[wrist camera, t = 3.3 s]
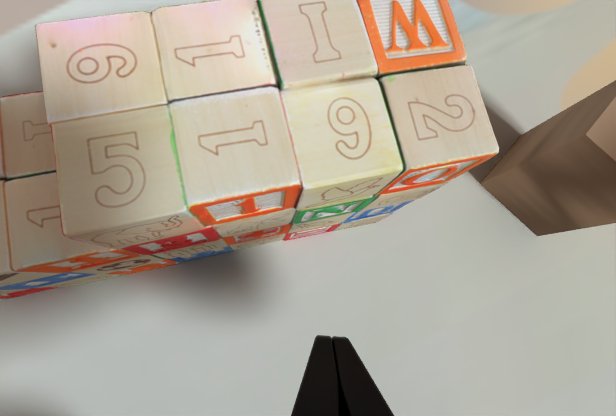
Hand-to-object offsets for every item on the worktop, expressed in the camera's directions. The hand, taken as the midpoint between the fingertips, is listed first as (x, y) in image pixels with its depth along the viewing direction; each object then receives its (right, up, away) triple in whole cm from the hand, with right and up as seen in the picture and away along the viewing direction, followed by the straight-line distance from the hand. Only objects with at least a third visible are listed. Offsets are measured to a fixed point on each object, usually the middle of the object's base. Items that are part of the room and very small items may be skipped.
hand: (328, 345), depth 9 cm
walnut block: (+14, +5, +15) cm, 21 cm away
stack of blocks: (-7, +4, +12) cm, 14 cm away
